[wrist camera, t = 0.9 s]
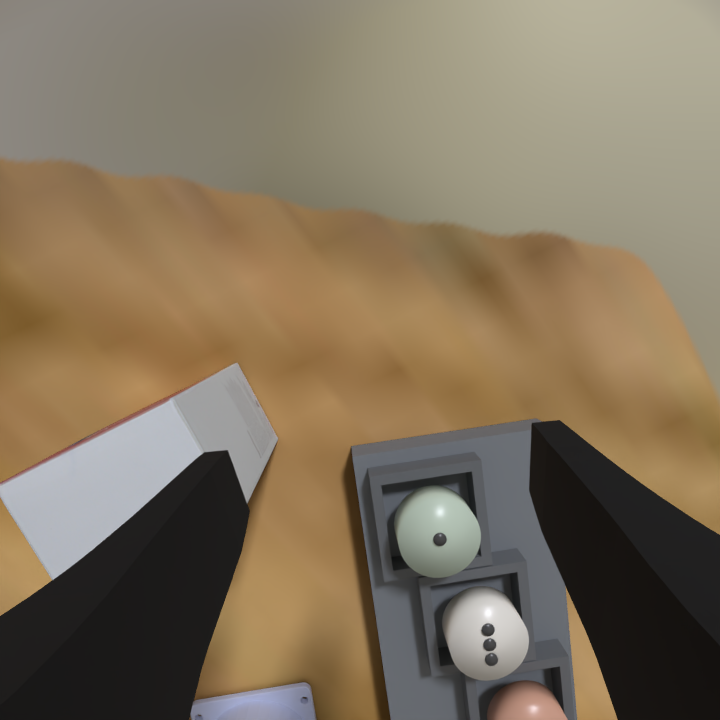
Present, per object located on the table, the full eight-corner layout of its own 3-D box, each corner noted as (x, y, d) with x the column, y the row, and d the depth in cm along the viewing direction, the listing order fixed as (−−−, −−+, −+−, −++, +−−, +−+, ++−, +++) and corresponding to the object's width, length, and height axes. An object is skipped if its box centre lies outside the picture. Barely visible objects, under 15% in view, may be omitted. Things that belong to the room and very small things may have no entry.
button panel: (563, 708, 31) (590, 757, 27) (394, 737, 30) (400, 790, 27) (536, 418, 28) (563, 433, 25) (351, 446, 28) (353, 465, 24)
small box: (238, 360, 27) (175, 393, 16) (281, 439, 28) (245, 519, 17) (122, 418, 27) (-15, 486, 17) (167, 495, 28) (62, 608, 17)
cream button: (519, 648, 26) (533, 675, 24) (446, 660, 26) (454, 688, 24) (512, 580, 26) (525, 602, 24) (437, 592, 25) (445, 615, 24)
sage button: (474, 552, 25) (485, 571, 23) (399, 564, 25) (404, 584, 23) (466, 479, 25) (476, 493, 23) (389, 491, 25) (393, 506, 23)
